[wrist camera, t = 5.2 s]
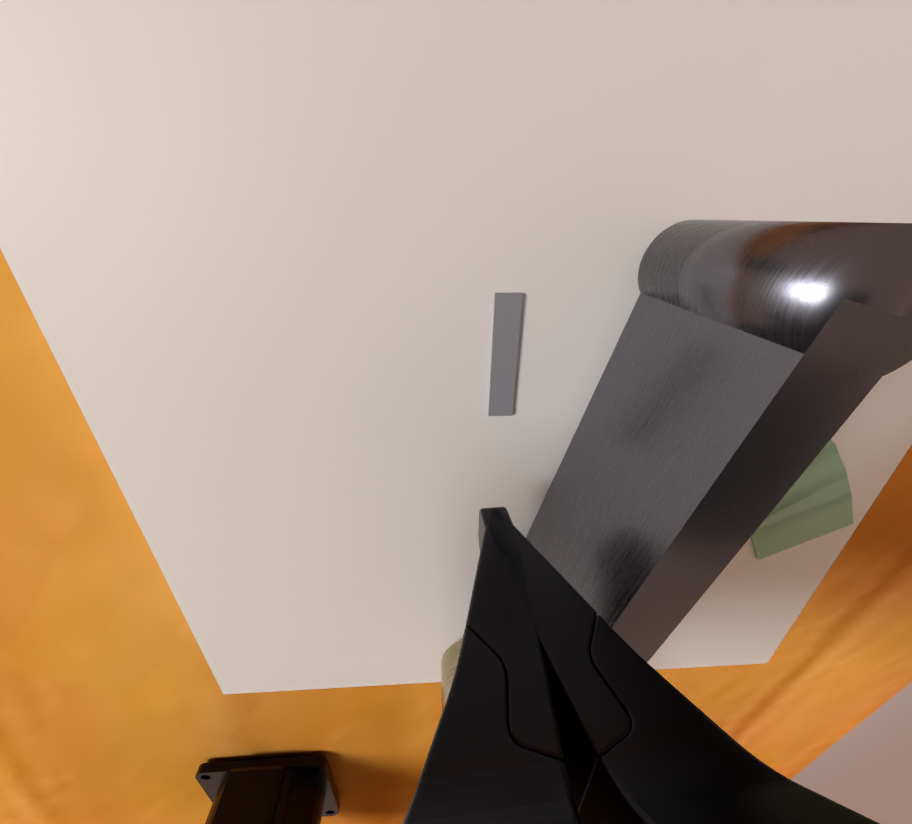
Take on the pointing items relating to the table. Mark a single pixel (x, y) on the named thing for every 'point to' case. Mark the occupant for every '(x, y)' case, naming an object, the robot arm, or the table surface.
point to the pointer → (717, 407)
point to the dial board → (416, 281)
